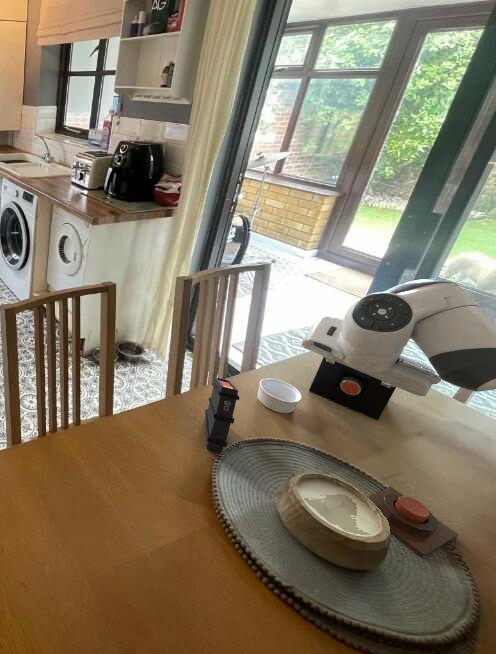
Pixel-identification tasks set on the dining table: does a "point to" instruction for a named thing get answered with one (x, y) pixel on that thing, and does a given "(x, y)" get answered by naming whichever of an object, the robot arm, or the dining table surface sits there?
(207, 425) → the black battery pack
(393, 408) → the dining table surface
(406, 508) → the button
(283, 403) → the ramekin
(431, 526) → the button block
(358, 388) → the push knob
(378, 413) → the console
